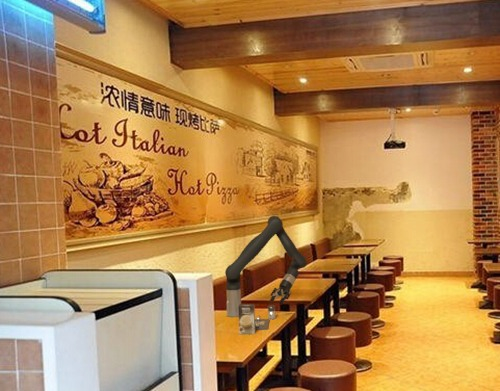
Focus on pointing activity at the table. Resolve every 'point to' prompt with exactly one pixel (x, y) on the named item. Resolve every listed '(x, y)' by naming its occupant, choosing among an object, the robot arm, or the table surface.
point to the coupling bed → (261, 323)
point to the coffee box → (246, 318)
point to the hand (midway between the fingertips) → (275, 302)
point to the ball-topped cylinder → (271, 312)
